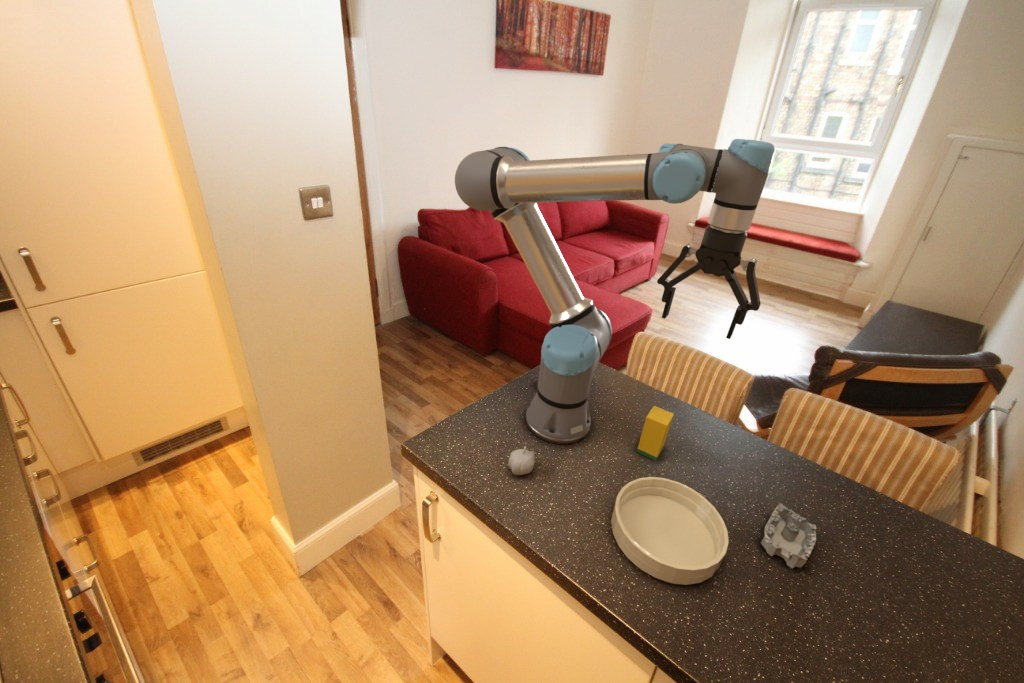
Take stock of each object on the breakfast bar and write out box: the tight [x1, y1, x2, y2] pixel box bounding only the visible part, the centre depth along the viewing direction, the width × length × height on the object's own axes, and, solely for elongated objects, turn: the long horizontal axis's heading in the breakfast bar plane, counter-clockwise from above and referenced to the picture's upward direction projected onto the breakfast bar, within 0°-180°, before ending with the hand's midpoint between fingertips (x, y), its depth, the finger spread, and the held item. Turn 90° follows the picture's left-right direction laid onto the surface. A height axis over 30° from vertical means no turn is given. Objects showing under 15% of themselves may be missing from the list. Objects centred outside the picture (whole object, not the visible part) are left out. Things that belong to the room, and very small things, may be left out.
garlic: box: [507, 445, 536, 476], centre depth 91 cm, size 6×5×5 cm
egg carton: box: [760, 502, 817, 569], centre depth 80 cm, size 11×8×4 cm
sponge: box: [636, 405, 675, 462], centre depth 97 cm, size 5×4×10 cm
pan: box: [610, 476, 730, 586], centre depth 80 cm, size 19×19×4 cm
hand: (696, 326), depth 96 cm, fingers open, 13 cm apart
